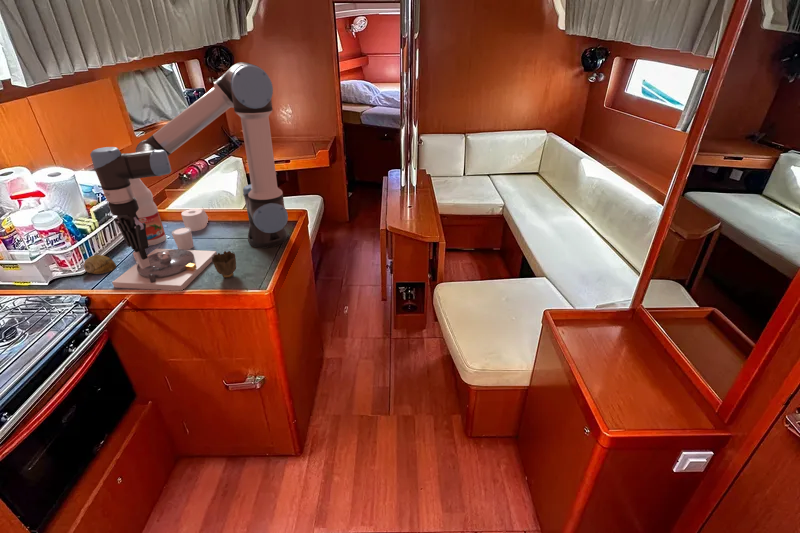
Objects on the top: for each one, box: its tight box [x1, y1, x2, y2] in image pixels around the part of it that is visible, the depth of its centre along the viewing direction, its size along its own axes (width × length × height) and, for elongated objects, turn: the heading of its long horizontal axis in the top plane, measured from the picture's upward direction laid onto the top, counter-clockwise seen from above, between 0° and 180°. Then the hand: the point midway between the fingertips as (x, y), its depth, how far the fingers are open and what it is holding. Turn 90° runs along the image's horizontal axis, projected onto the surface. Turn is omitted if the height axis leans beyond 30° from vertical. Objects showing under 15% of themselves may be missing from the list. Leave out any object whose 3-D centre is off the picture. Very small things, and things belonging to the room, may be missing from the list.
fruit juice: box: [129, 178, 167, 246], centre depth 163 cm, size 9×9×28 cm
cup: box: [212, 250, 237, 279], centre depth 143 cm, size 8×7×8 cm
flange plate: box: [132, 248, 197, 278], centre depth 146 cm, size 18×20×7 cm
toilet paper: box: [180, 206, 209, 232], centre depth 181 cm, size 8×11×7 cm
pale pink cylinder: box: [171, 226, 195, 250], centre depth 164 cm, size 7×7×7 cm
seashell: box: [83, 254, 117, 275], centre depth 149 cm, size 10×7×8 cm
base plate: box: [111, 248, 218, 291], centre depth 148 cm, size 24×24×5 cm
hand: (145, 266), depth 141 cm, fingers closed
